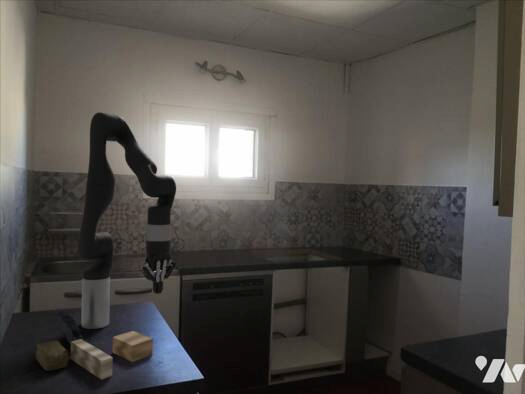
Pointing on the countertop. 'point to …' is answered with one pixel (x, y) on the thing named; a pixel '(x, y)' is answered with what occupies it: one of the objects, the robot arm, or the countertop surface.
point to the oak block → (132, 346)
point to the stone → (68, 326)
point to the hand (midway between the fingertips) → (157, 293)
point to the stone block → (51, 355)
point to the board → (91, 359)
